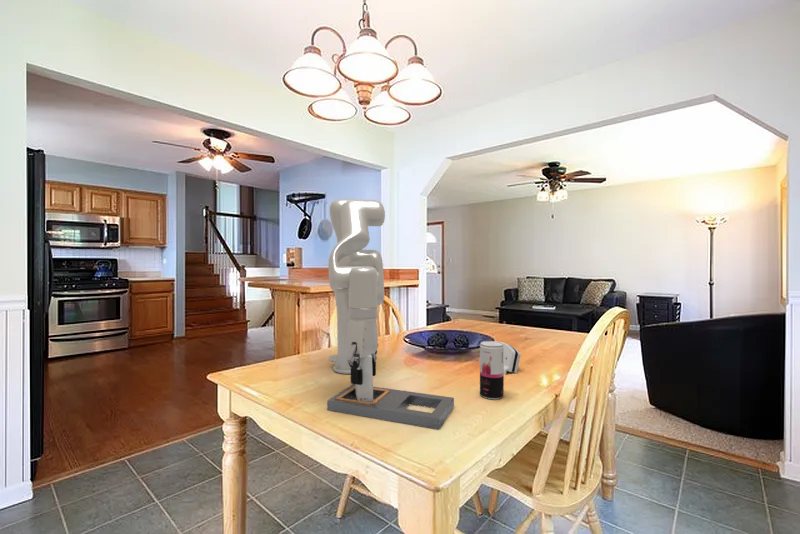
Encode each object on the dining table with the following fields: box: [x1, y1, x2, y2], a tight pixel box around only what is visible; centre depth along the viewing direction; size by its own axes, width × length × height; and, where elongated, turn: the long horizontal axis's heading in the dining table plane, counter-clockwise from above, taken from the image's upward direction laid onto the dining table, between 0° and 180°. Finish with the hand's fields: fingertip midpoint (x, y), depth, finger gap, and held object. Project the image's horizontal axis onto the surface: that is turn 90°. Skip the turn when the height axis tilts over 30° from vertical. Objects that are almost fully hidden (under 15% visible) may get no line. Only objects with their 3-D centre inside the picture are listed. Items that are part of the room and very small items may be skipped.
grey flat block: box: [326, 384, 455, 430], centre depth 99 cm, size 30×14×3 cm, turn 68°
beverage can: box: [479, 340, 505, 400], centre depth 108 cm, size 6×6×15 cm
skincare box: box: [355, 355, 374, 403], centre depth 102 cm, size 6×4×12 cm
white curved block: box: [478, 341, 521, 374], centre depth 136 cm, size 17×5×10 cm, turn 20°
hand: (363, 379), depth 102 cm, fingers closed on skincare box, 7 cm apart
